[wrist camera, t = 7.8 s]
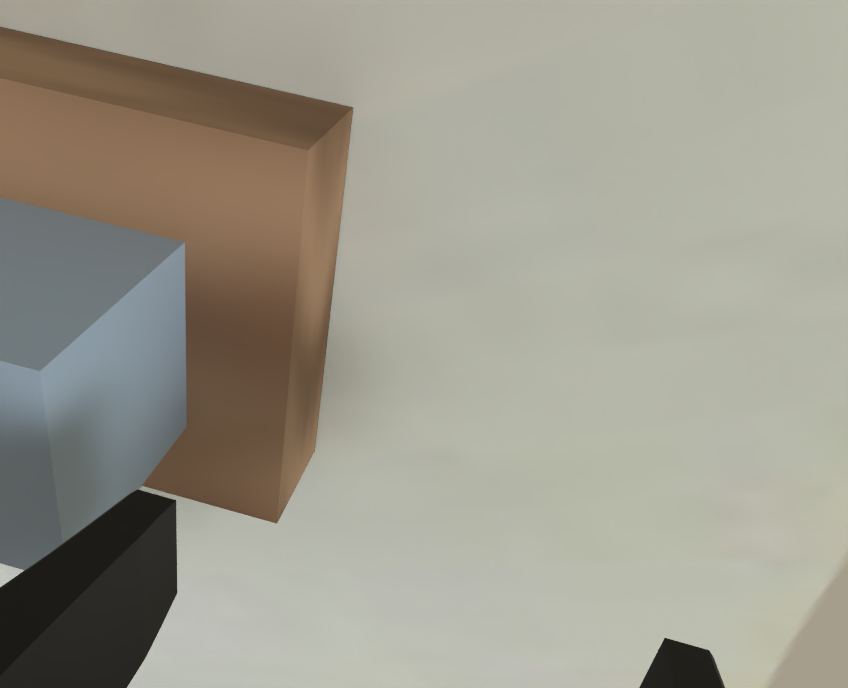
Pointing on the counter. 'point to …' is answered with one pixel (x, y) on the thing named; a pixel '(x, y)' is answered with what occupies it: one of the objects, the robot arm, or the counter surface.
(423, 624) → the counter surface
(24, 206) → the slate-blue cube
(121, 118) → the walnut base
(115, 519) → the robot arm
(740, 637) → the counter surface
